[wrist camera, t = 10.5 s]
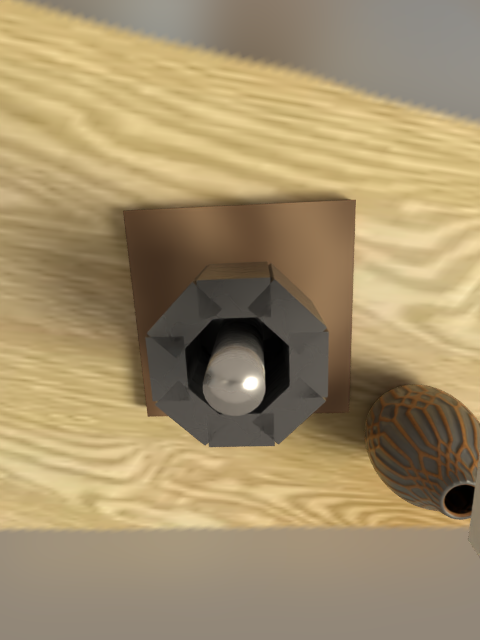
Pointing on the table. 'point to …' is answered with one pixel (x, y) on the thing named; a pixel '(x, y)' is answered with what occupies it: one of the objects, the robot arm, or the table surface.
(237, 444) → the ring
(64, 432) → the table surface
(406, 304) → the table surface
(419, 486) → the vase
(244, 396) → the shaft
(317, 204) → the base board
